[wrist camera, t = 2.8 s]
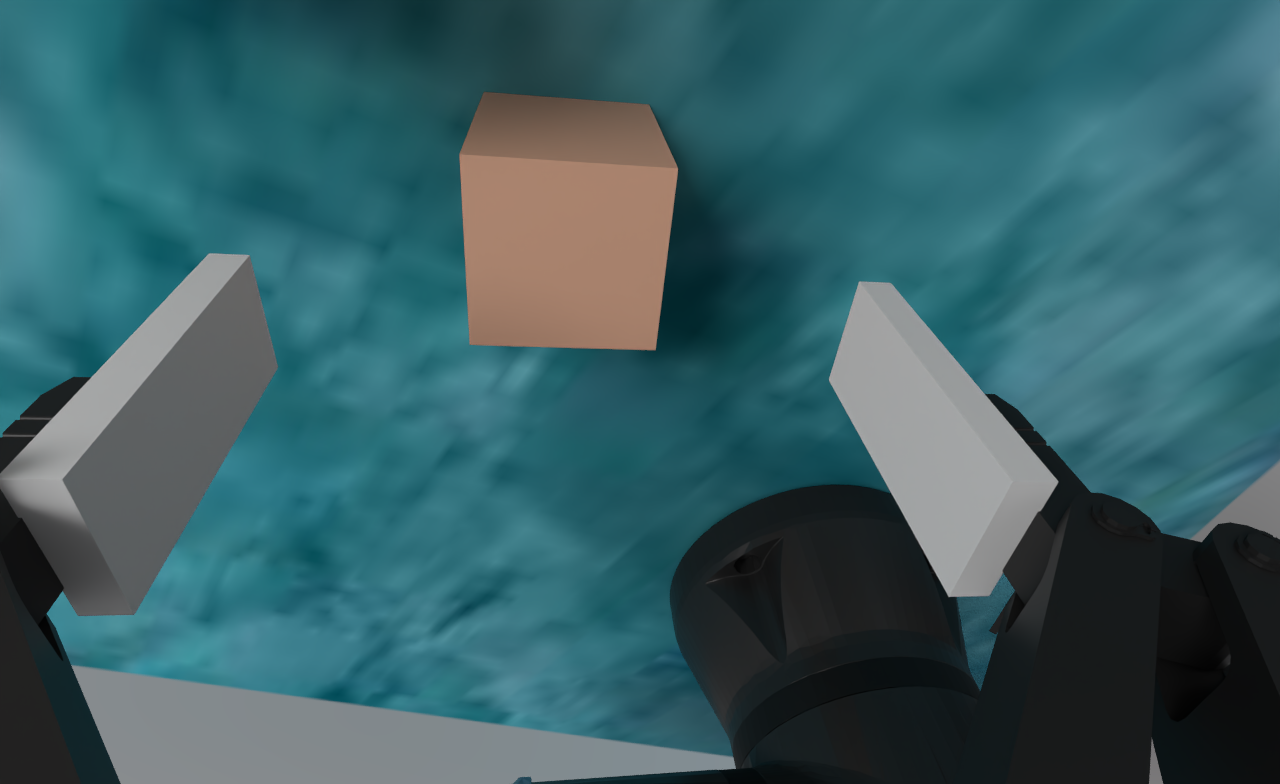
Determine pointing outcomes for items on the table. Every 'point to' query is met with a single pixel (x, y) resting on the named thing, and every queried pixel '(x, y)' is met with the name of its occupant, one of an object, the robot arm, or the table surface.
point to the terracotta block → (565, 222)
